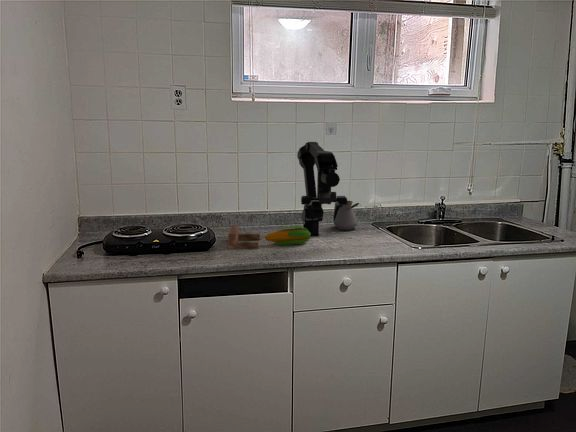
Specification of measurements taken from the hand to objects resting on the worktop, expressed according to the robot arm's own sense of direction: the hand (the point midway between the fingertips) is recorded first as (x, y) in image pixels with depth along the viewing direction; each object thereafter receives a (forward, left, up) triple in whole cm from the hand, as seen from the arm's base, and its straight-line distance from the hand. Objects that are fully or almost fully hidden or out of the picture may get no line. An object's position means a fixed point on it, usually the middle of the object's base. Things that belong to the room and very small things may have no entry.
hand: (323, 220), depth 201 cm
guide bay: (+33, 0, -10) cm, 34 cm away
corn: (+15, 0, -10) cm, 18 cm away
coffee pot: (-14, -23, -10) cm, 29 cm away
